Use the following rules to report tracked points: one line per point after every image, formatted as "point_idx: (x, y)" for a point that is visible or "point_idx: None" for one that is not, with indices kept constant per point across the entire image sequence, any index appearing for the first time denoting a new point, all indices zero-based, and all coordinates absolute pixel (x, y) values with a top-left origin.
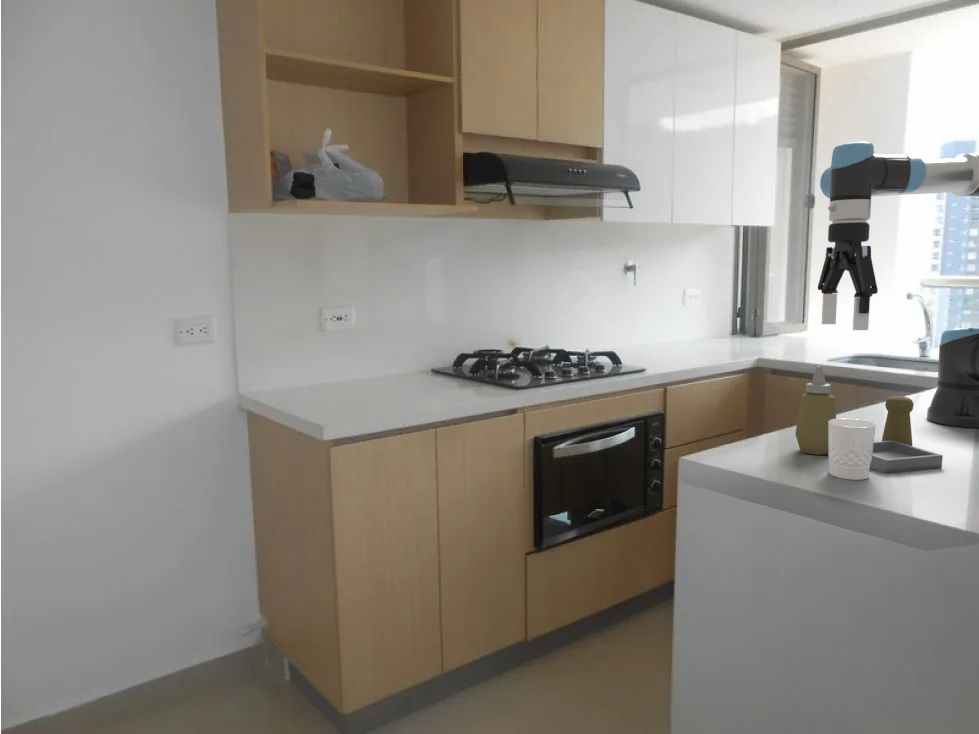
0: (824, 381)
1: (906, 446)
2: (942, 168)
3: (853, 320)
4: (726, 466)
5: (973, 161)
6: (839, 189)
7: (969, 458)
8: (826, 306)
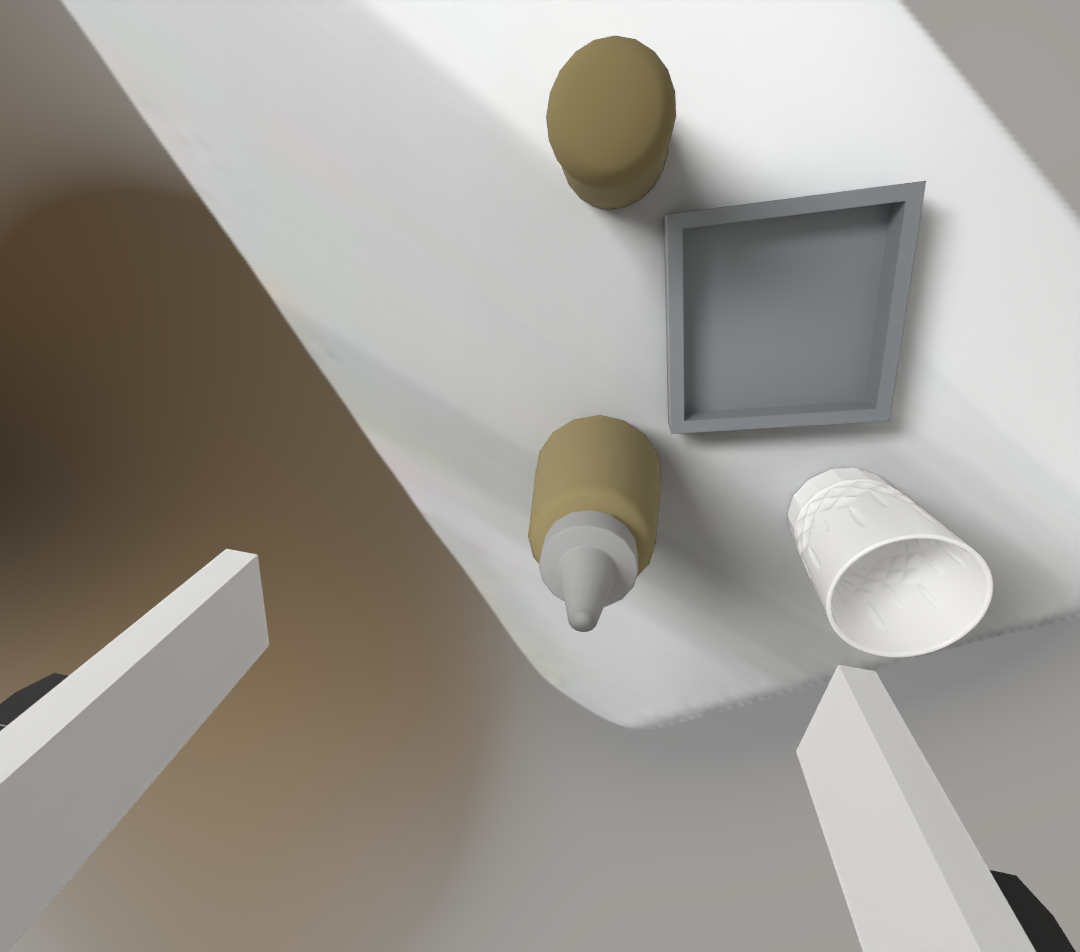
0: (610, 568)
1: (756, 219)
2: None
3: (829, 835)
4: (668, 701)
5: None
6: None
7: None
8: (142, 773)
